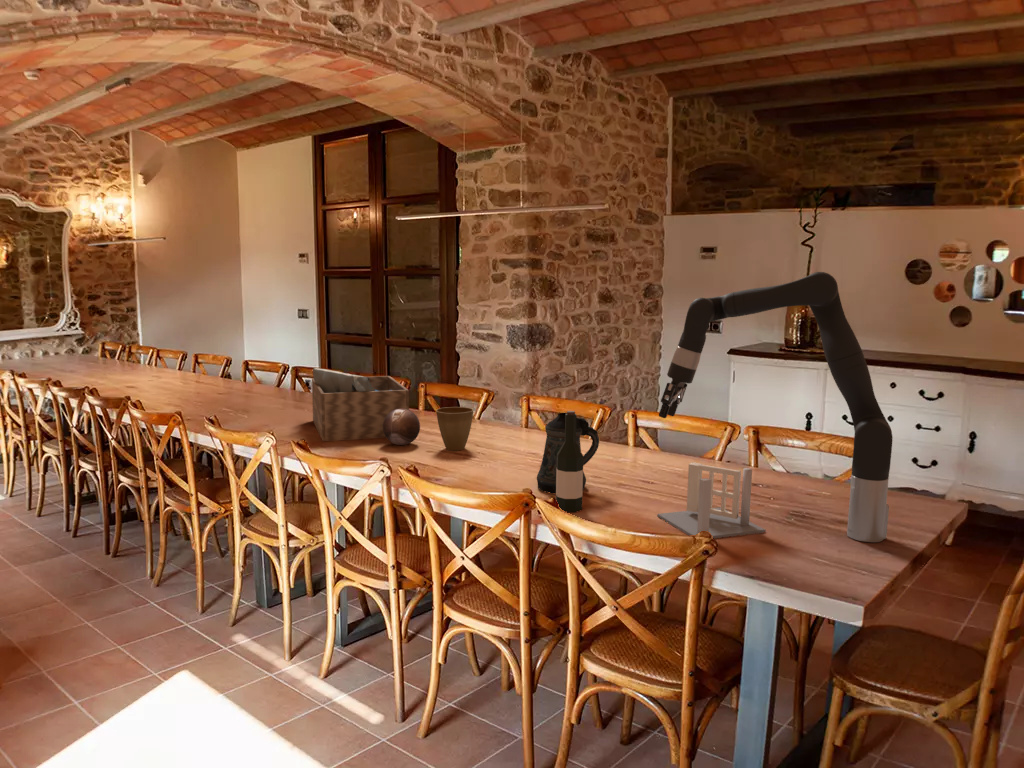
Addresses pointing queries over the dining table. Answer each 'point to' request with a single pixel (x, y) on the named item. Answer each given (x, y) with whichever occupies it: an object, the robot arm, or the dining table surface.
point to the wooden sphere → (401, 426)
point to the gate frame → (715, 523)
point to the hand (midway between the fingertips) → (666, 416)
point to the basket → (341, 381)
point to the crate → (357, 410)
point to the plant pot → (455, 426)
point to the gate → (693, 489)
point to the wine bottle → (569, 469)
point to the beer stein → (553, 445)
